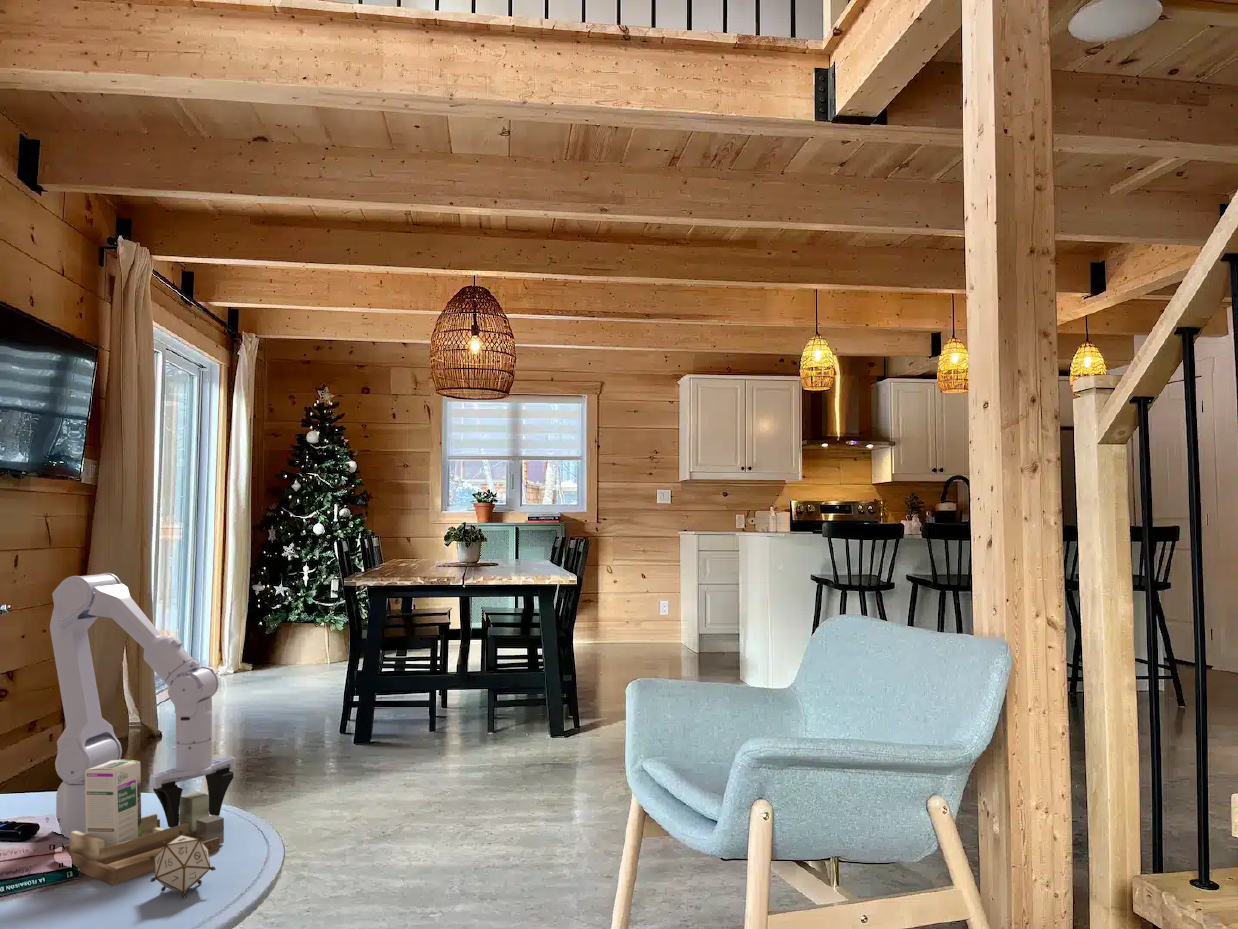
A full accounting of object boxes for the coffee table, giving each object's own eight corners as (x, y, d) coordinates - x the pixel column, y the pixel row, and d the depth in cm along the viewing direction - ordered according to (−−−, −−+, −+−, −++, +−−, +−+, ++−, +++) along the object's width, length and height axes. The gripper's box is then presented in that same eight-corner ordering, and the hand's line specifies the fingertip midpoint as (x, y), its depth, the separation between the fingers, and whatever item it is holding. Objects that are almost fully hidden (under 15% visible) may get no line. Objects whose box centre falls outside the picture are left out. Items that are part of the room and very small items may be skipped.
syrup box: (116, 863, 147) (117, 769, 148) (84, 862, 148) (84, 768, 149) (142, 850, 153) (142, 759, 153) (110, 849, 154) (110, 758, 155)
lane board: (53, 861, 149) (53, 848, 149) (158, 830, 162) (158, 819, 163) (113, 885, 138) (113, 871, 138) (219, 850, 152) (219, 838, 152)
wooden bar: (105, 871, 143) (105, 844, 143) (210, 838, 157) (210, 814, 157) (121, 878, 140) (121, 850, 140) (226, 843, 154) (226, 818, 154)
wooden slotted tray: (68, 857, 150) (69, 819, 150) (186, 822, 166) (186, 789, 166) (100, 869, 144) (101, 830, 144) (219, 832, 160) (219, 797, 160)
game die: (175, 914, 136) (172, 846, 142) (229, 892, 136) (225, 824, 142) (135, 905, 129) (134, 833, 135) (192, 882, 129) (189, 810, 135)
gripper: (165, 752, 154) (165, 837, 153) (245, 734, 166) (246, 813, 165) (142, 747, 158) (142, 830, 157) (222, 730, 170) (223, 806, 169)
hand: (194, 821), depth 161 cm, fingers open, 7 cm apart
